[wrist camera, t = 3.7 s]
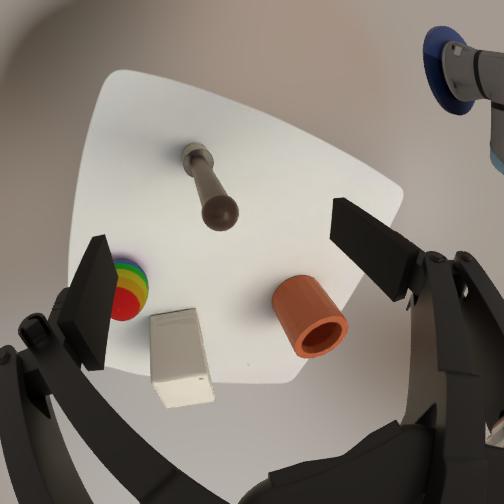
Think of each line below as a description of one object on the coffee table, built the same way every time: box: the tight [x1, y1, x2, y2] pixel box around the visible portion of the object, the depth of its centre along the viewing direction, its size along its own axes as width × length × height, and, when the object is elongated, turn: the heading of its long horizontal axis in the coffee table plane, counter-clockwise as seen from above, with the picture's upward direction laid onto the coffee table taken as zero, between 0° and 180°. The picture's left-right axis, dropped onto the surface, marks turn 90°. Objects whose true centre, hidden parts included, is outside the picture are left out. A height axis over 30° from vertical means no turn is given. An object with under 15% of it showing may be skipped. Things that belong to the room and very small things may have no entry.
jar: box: [272, 275, 348, 358], centre depth 49 cm, size 10×10×12 cm
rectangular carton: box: [150, 309, 215, 408], centre depth 44 cm, size 9×9×15 cm
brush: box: [182, 143, 239, 231], centre depth 26 cm, size 4×4×23 cm
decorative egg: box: [111, 260, 149, 321], centre depth 38 cm, size 8×8×10 cm
